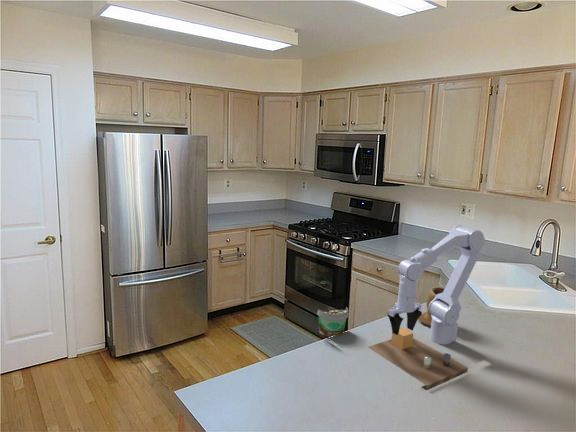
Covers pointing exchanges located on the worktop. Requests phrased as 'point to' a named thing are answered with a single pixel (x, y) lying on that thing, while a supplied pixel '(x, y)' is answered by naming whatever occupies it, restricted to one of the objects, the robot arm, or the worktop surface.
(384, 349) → the walnut board
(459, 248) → the robot arm
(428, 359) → the steel post
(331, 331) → the food container
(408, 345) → the peach wooden cube
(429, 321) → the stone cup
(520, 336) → the worktop surface
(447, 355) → the dark post
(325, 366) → the worktop surface
